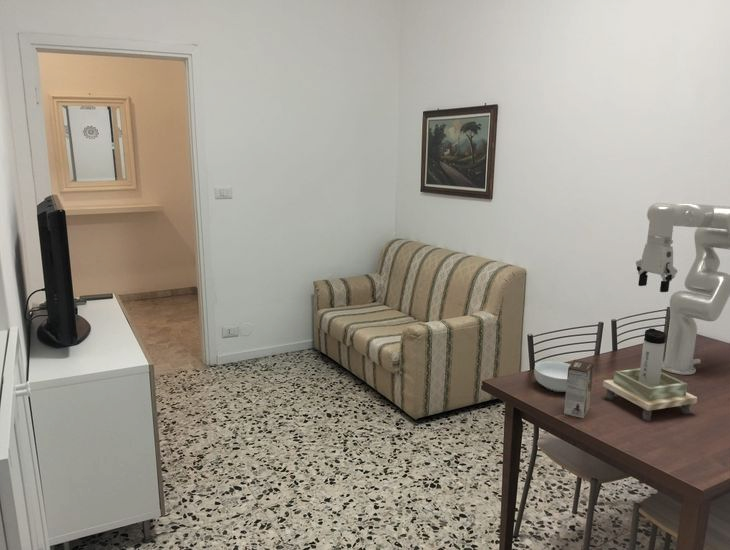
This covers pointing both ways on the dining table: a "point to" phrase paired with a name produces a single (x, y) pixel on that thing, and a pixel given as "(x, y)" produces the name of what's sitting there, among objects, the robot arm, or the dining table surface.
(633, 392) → the framed shelf
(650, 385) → the travel mug
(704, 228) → the robot arm
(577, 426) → the dining table surface
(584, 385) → the coffee box
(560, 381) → the cereal bowl
